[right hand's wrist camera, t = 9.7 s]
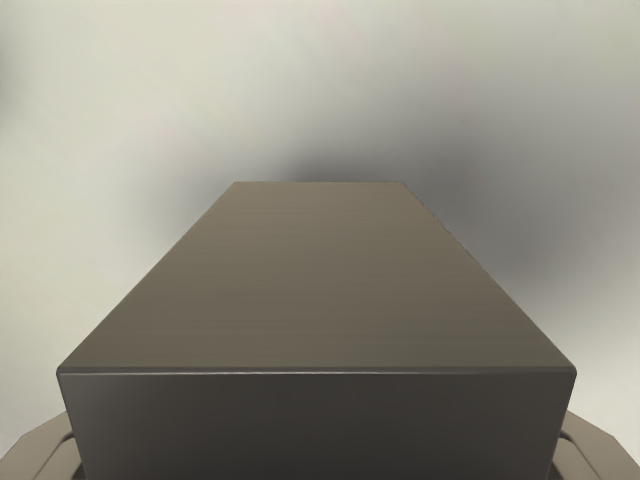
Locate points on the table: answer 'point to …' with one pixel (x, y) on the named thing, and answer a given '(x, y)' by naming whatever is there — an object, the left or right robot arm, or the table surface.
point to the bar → (317, 352)
